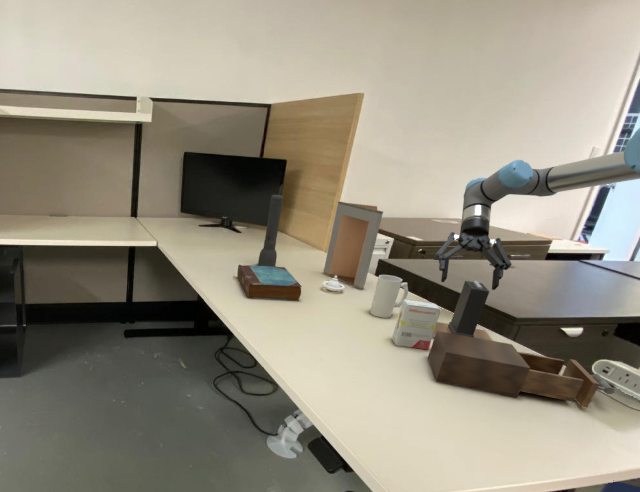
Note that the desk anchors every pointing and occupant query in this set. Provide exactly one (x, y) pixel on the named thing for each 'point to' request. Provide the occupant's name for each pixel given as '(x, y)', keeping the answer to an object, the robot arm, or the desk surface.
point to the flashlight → (271, 233)
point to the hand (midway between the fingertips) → (469, 283)
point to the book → (268, 282)
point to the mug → (387, 295)
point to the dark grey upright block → (468, 309)
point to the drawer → (561, 380)
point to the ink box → (416, 324)
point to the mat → (444, 327)
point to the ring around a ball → (333, 285)
